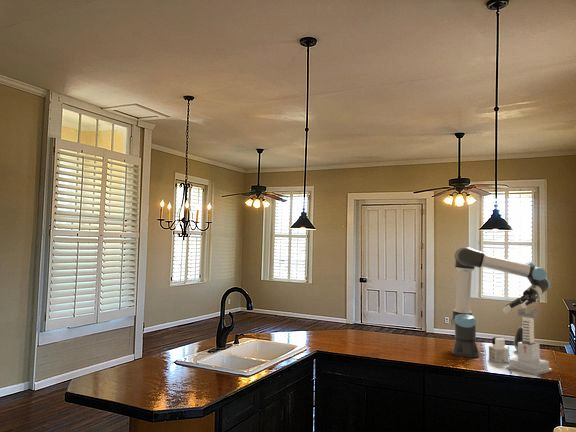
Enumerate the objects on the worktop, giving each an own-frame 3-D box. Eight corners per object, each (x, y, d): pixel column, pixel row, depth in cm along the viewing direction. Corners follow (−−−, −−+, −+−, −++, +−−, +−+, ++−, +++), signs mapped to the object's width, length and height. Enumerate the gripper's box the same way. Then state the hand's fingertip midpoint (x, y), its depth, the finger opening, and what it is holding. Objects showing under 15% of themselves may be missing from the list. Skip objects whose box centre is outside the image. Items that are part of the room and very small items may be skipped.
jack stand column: (519, 365, 246) (518, 308, 248) (524, 364, 249) (522, 307, 251) (534, 369, 240) (532, 310, 241) (539, 367, 242) (537, 309, 244)
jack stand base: (506, 368, 246) (505, 339, 247) (522, 364, 255) (521, 336, 256) (536, 375, 233) (535, 345, 234) (552, 370, 242) (551, 341, 243)
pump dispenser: (528, 349, 290) (527, 325, 291) (535, 353, 280) (534, 328, 281) (511, 349, 291) (510, 325, 292) (517, 353, 281) (517, 328, 282)
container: (488, 358, 266) (488, 336, 267) (501, 358, 267) (501, 336, 268) (495, 362, 259) (495, 339, 259) (509, 362, 259) (508, 339, 260)
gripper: (553, 294, 265) (534, 311, 254) (519, 303, 286) (500, 319, 276) (545, 282, 266) (526, 299, 256) (512, 292, 287) (493, 308, 277)
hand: (512, 309), depth 266 cm, fingers open, 13 cm apart
